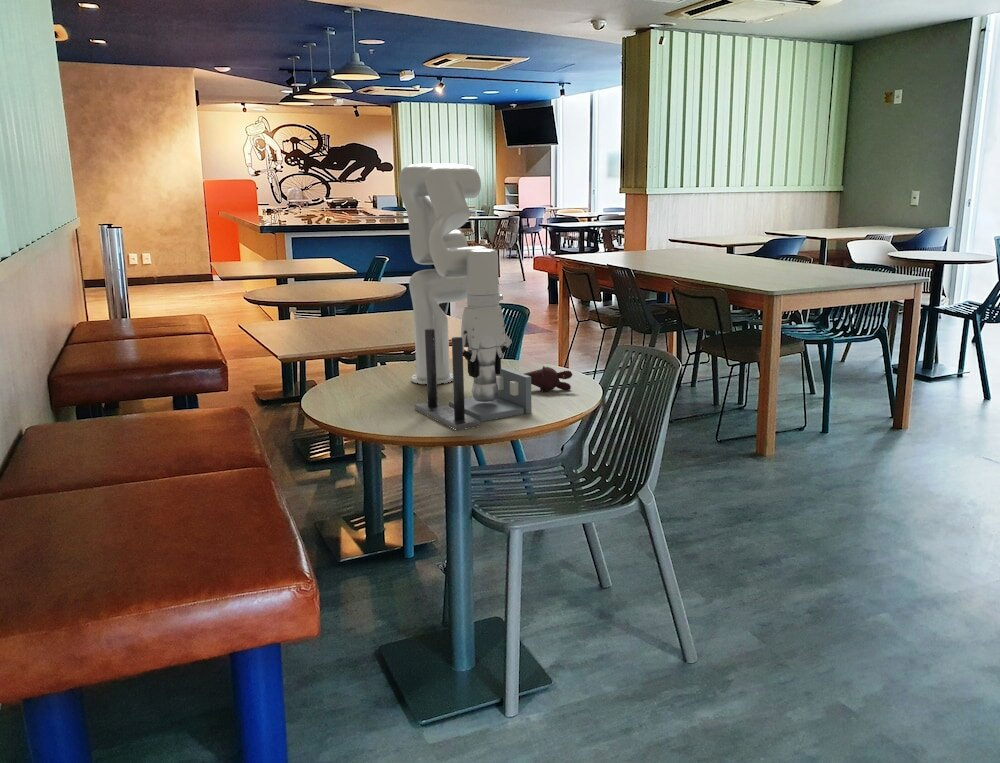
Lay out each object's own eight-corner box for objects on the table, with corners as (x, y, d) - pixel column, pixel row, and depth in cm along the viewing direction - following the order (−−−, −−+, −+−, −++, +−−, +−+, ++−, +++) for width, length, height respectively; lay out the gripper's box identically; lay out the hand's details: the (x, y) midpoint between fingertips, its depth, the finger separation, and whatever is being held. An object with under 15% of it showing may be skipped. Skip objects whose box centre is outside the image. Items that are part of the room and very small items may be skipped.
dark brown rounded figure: (515, 371, 210) (572, 376, 209) (518, 358, 217) (573, 363, 216) (514, 394, 214) (570, 399, 213) (516, 381, 220) (571, 385, 219)
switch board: (449, 407, 200) (447, 372, 198) (497, 399, 207) (497, 365, 205) (480, 421, 187) (479, 384, 185) (531, 412, 194) (531, 376, 192)
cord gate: (414, 409, 199) (411, 328, 194) (436, 406, 202) (433, 326, 197) (456, 431, 181) (453, 342, 176) (479, 426, 184) (477, 339, 179)
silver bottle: (501, 398, 199) (500, 318, 194) (494, 405, 192) (493, 323, 188) (476, 397, 200) (474, 318, 195) (469, 404, 194) (467, 322, 189)
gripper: (505, 296, 198) (506, 367, 202) (443, 302, 189) (446, 376, 194) (521, 299, 192) (522, 373, 196) (458, 306, 183) (460, 382, 187)
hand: (484, 374), depth 195 cm, fingers open, 5 cm apart
